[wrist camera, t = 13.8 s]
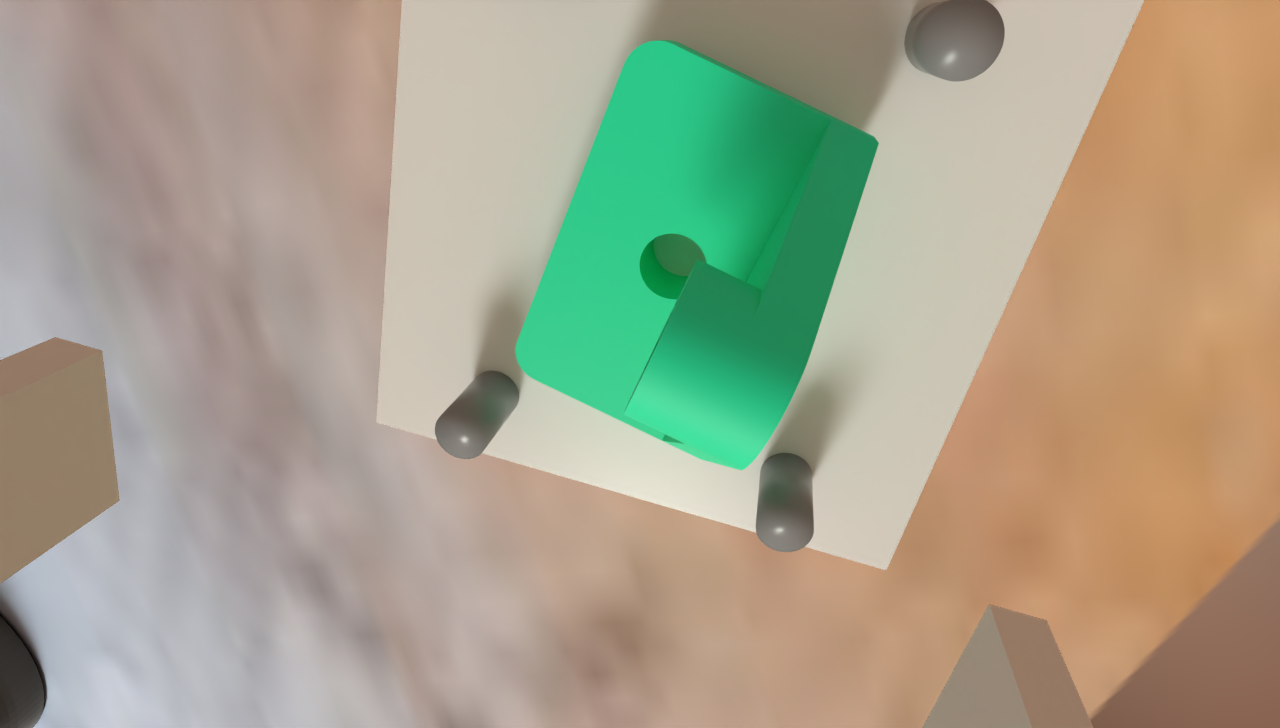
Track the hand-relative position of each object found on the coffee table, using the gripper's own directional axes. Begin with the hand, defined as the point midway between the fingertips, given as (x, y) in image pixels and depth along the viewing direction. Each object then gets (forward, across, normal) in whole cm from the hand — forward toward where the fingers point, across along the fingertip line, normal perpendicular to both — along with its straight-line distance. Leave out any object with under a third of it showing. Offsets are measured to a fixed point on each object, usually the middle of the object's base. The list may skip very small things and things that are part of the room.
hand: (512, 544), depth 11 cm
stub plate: (+19, 0, 0) cm, 19 cm away
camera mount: (+18, 0, 0) cm, 18 cm away
